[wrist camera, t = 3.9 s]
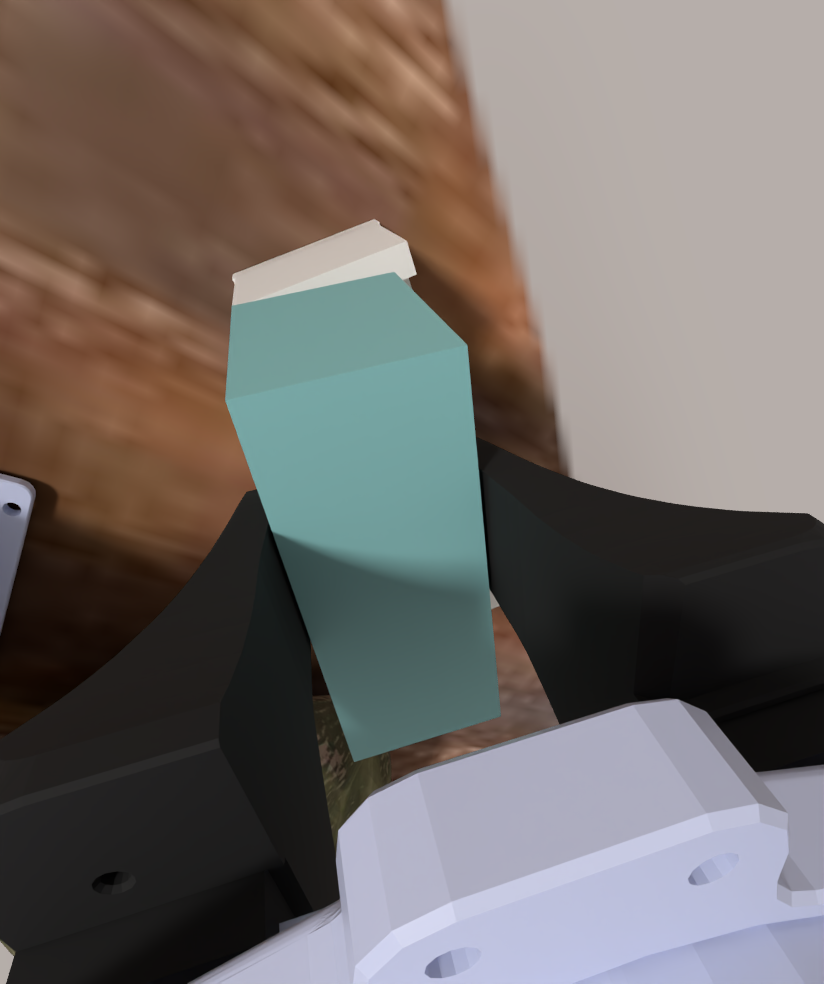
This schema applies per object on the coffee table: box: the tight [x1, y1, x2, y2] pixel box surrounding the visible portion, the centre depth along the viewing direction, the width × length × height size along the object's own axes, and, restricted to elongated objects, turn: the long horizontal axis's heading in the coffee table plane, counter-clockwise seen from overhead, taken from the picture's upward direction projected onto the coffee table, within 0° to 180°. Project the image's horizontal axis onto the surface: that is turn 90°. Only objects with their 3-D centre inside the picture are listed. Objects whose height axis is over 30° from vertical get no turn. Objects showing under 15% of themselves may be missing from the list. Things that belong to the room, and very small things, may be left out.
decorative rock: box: [0, 695, 391, 956], centre depth 23 cm, size 15×16×10 cm
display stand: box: [232, 219, 500, 609], centre depth 19 cm, size 12×5×5 cm, turn 18°
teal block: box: [225, 272, 501, 762], centre depth 13 cm, size 9×4×5 cm, turn 9°
